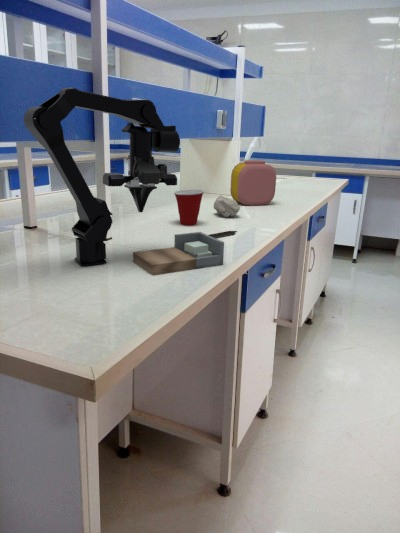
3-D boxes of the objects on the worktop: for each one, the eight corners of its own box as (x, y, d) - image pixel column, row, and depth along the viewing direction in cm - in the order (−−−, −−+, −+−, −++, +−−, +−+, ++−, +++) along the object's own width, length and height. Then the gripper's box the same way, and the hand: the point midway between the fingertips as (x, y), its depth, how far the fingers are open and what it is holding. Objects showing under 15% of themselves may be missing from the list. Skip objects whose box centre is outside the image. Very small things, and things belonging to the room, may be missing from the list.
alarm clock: (264, 201, 214) (268, 159, 208) (275, 205, 204) (279, 161, 198) (228, 202, 208) (231, 159, 202) (237, 206, 198) (240, 161, 192)
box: (196, 268, 112) (197, 245, 110) (174, 255, 122) (174, 234, 120) (223, 264, 116) (224, 242, 114) (199, 252, 126) (200, 231, 124)
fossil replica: (223, 212, 185) (207, 217, 178) (221, 192, 182) (205, 196, 175) (246, 215, 176) (230, 220, 170) (245, 193, 174) (229, 198, 167)
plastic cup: (175, 219, 167) (176, 187, 163) (204, 221, 166) (205, 188, 162) (170, 226, 156) (170, 191, 153) (201, 228, 155) (202, 193, 152)
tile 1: (193, 254, 115) (194, 247, 114) (184, 250, 118) (184, 243, 118) (208, 252, 117) (208, 245, 117) (198, 248, 121) (198, 241, 120)
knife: (234, 232, 153) (234, 228, 152) (246, 236, 148) (247, 232, 147) (171, 241, 138) (172, 237, 138) (183, 246, 133) (184, 242, 133)
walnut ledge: (152, 275, 106) (152, 265, 106) (133, 261, 116) (132, 252, 115) (196, 268, 112) (196, 258, 111) (174, 255, 122) (174, 247, 121)
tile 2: (197, 262, 116) (197, 254, 115) (188, 257, 119) (188, 250, 119) (211, 259, 118) (212, 252, 118) (202, 255, 122) (202, 248, 121)
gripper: (115, 153, 104) (115, 219, 108) (187, 154, 112) (185, 216, 117) (101, 150, 113) (102, 211, 118) (169, 151, 122) (167, 208, 126)
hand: (140, 212), depth 119 cm, fingers closed
